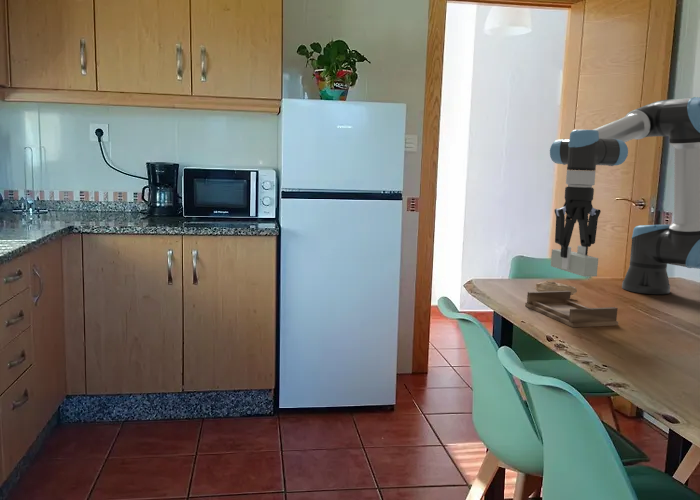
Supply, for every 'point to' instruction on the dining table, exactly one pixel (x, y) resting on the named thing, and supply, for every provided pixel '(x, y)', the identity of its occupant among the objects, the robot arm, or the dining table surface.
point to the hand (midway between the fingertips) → (572, 268)
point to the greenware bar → (576, 263)
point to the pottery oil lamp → (554, 287)
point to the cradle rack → (570, 309)
